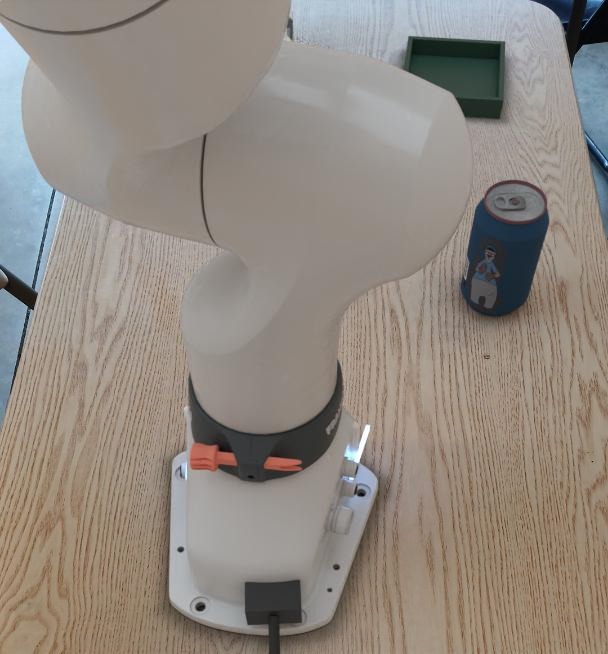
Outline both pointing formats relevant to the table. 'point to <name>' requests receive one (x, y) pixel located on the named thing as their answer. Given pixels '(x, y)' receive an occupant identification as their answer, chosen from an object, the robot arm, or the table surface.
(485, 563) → the table surface
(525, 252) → the soda can
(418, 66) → the serving tray
